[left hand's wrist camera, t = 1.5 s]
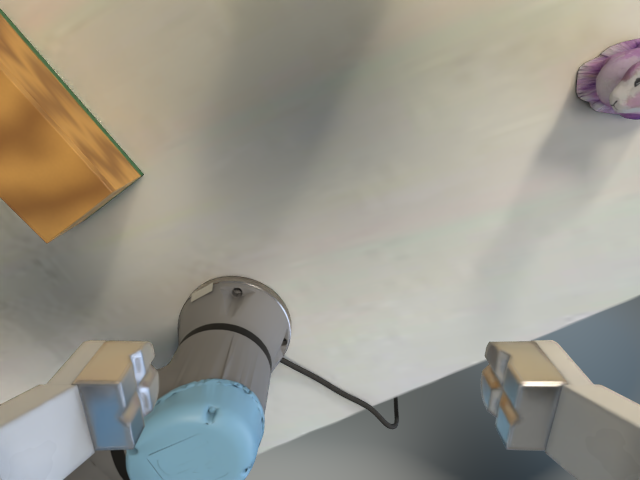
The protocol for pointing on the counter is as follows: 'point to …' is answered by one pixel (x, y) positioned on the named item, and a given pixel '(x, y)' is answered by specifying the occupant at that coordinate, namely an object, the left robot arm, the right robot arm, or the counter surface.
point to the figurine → (613, 80)
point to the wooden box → (51, 144)
